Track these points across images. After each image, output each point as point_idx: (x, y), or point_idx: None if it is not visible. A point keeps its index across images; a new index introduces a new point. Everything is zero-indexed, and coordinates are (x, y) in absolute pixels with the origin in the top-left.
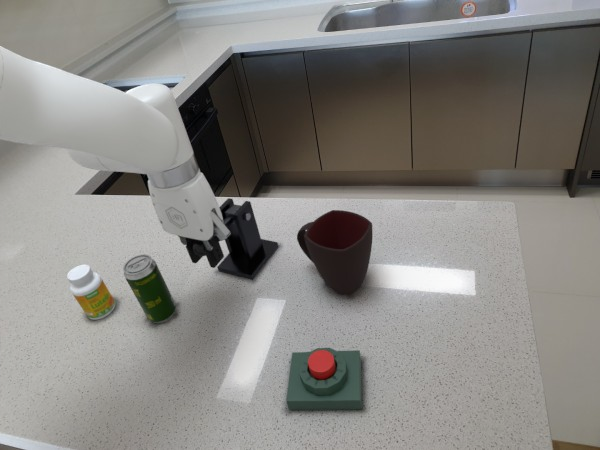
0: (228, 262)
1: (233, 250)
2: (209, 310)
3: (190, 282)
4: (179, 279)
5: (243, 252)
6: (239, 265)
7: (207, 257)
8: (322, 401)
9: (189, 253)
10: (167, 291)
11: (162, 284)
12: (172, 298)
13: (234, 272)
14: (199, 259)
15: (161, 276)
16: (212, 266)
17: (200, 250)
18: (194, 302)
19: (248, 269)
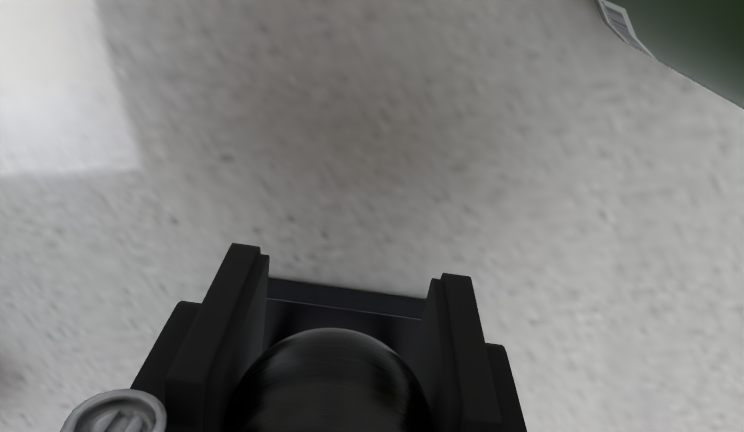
0: (404, 358)
1: None
2: (369, 33)
3: (590, 214)
4: (671, 226)
5: None
6: None
7: (224, 316)
8: None
9: (471, 346)
10: (653, 12)
11: (699, 5)
12: (623, 25)
13: (339, 302)
14: (424, 315)
15: (737, 71)
16: (231, 250)
17: (279, 383)
18: (496, 76)
19: (266, 327)
